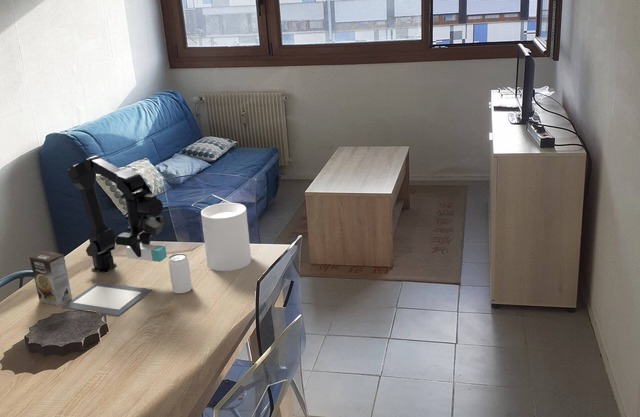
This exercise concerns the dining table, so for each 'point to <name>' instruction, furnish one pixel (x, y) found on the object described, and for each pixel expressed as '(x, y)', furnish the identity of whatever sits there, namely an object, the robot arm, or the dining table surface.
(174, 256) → the can
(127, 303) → the desk mat
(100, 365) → the dining table surface
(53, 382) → the dining table surface
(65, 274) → the coffee box
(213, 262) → the canister
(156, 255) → the marker
